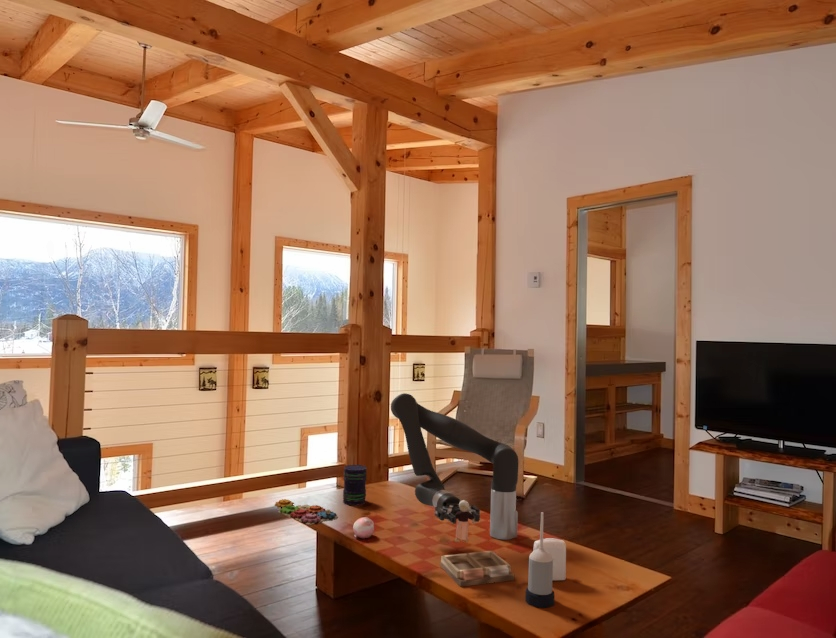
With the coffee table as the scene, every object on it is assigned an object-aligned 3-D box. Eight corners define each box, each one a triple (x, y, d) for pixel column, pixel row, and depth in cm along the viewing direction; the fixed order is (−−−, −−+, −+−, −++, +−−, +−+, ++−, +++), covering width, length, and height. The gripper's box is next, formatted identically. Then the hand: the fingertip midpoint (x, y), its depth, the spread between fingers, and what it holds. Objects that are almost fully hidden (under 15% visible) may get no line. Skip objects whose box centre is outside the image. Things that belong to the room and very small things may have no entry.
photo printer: (534, 582, 187) (535, 541, 187) (530, 576, 192) (531, 536, 192) (567, 581, 188) (568, 541, 188) (562, 575, 193) (564, 536, 193)
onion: (372, 543, 219) (369, 525, 217) (351, 542, 221) (348, 525, 219) (377, 529, 227) (374, 512, 225) (357, 529, 228) (354, 512, 226)
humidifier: (551, 595, 178) (554, 509, 178) (556, 608, 170) (559, 517, 170) (523, 594, 178) (525, 507, 179) (527, 607, 170) (529, 516, 170)
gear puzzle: (264, 508, 255) (264, 498, 255) (297, 501, 266) (297, 491, 266) (308, 527, 233) (308, 516, 233) (342, 518, 244) (342, 508, 244)
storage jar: (357, 497, 273) (358, 463, 273) (370, 502, 265) (371, 468, 265) (338, 501, 266) (339, 466, 266) (350, 506, 259) (352, 471, 259)
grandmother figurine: (453, 543, 190) (454, 502, 189) (449, 539, 193) (450, 498, 193) (476, 541, 192) (478, 501, 191) (472, 537, 195) (473, 497, 195)
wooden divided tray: (491, 560, 203) (491, 550, 203) (514, 580, 188) (514, 568, 188) (440, 566, 197) (440, 555, 197) (460, 586, 182) (460, 574, 182)
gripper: (427, 494, 204) (445, 509, 188) (466, 491, 208) (488, 505, 193) (426, 516, 204) (444, 533, 188) (466, 513, 208) (487, 529, 193)
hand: (466, 519), depth 190 cm, fingers closed on grandmother figurine, 7 cm apart
